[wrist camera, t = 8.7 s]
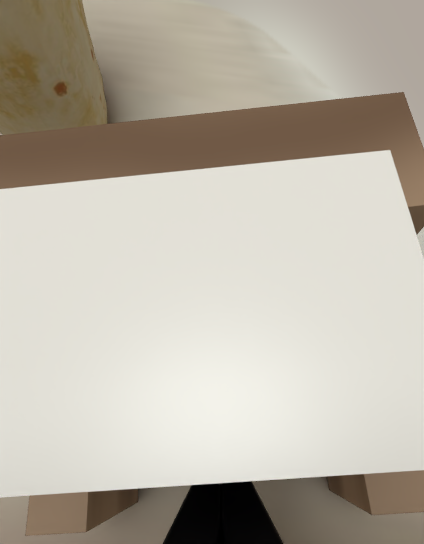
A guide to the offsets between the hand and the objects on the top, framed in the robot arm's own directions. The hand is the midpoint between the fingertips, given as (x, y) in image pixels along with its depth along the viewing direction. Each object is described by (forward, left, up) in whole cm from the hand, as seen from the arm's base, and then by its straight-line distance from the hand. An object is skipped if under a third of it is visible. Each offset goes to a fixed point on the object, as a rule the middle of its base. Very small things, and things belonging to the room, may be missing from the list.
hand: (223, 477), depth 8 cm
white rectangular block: (+2, 0, -6) cm, 7 cm away
